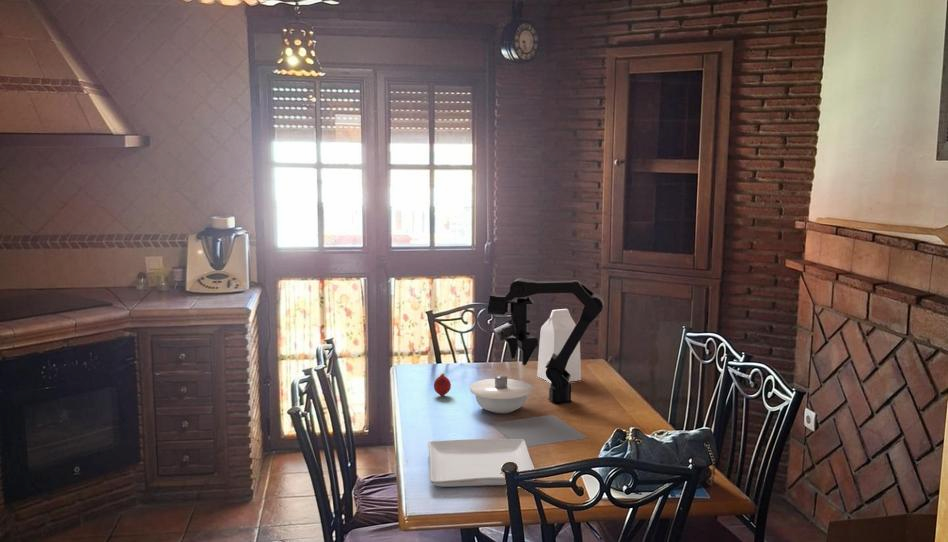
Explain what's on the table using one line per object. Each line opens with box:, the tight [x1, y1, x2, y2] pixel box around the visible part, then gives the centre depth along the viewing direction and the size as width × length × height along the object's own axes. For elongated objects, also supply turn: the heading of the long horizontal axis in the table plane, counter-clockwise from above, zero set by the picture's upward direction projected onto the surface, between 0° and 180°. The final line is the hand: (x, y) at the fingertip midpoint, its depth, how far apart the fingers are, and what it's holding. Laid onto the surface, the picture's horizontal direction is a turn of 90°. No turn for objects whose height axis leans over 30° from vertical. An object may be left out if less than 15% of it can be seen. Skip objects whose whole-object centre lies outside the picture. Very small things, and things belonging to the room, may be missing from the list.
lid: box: [469, 374, 533, 399], centre depth 265 cm, size 20×20×4 cm
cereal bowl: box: [475, 395, 528, 414], centre depth 266 cm, size 17×17×7 cm
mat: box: [489, 414, 588, 448], centre depth 247 cm, size 22×22×1 cm
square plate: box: [427, 438, 536, 488], centre depth 218 cm, size 27×27×4 cm
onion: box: [433, 372, 452, 397], centre depth 280 cm, size 6×6×8 cm
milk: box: [536, 308, 582, 384], centre depth 300 cm, size 12×12×26 cm
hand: (518, 361), depth 276 cm, fingers open, 9 cm apart
